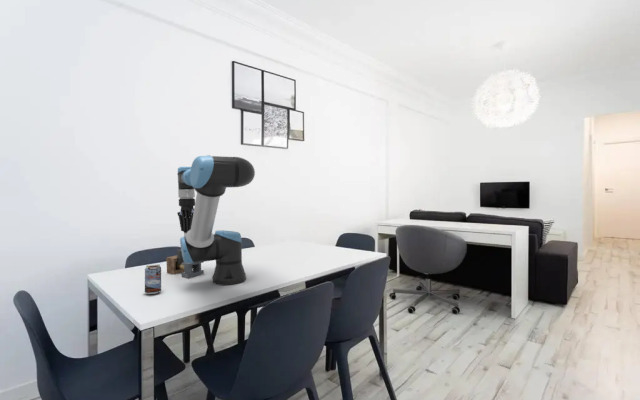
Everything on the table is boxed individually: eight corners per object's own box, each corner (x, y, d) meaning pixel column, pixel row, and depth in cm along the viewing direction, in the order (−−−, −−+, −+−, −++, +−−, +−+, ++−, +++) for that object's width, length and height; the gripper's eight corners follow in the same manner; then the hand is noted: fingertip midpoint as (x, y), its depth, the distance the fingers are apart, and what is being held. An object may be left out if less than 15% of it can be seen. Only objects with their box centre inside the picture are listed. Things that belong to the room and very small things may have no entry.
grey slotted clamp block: (203, 274, 166) (203, 260, 166) (188, 278, 159) (187, 264, 158) (197, 273, 169) (196, 259, 169) (181, 277, 161) (181, 263, 161)
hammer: (193, 269, 166) (193, 250, 165) (187, 271, 163) (187, 252, 162) (179, 267, 172) (178, 248, 172) (173, 268, 169) (172, 249, 169)
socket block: (185, 271, 172) (184, 256, 172) (174, 274, 166) (173, 258, 166) (178, 270, 175) (177, 255, 175) (166, 273, 170) (166, 257, 169)
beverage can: (144, 296, 132) (143, 267, 132) (145, 291, 139) (144, 263, 139) (161, 294, 135) (160, 265, 134) (162, 289, 142) (161, 261, 141)
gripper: (201, 197, 163) (203, 245, 164) (185, 198, 170) (186, 243, 171) (188, 198, 157) (190, 247, 158) (171, 198, 164) (173, 245, 164)
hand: (188, 245), depth 164 cm, fingers closed
